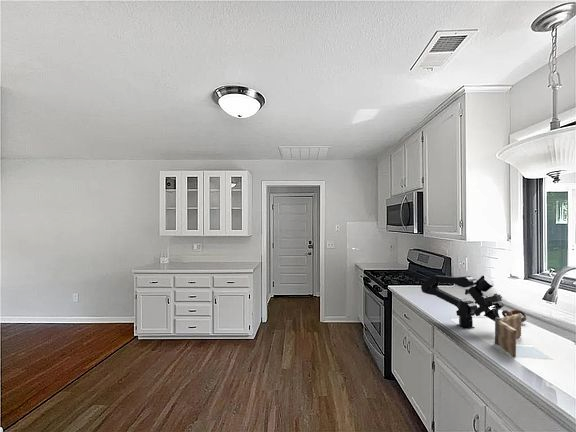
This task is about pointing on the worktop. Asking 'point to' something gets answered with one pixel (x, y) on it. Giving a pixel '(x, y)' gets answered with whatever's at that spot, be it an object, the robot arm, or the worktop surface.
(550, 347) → the worktop surface
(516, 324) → the fence swing panel
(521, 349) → the card
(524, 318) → the pottery mug
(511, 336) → the panel
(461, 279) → the robot arm
